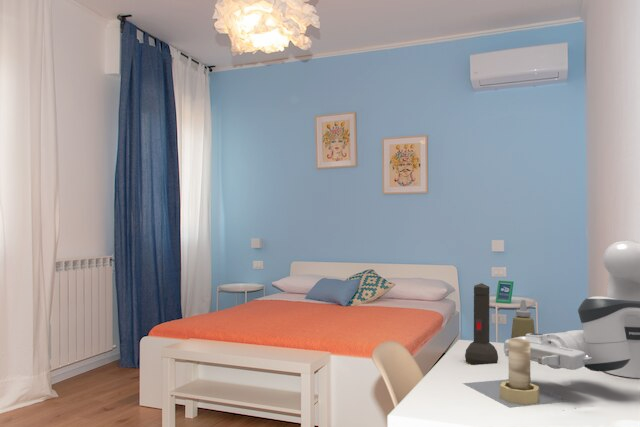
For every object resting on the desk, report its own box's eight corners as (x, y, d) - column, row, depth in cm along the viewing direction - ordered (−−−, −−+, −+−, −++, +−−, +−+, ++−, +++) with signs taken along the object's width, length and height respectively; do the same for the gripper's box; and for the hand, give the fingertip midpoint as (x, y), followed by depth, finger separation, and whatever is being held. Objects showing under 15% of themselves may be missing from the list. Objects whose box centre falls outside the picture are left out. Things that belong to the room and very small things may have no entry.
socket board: (516, 382, 150) (516, 367, 151) (569, 405, 131) (569, 388, 131) (462, 387, 146) (462, 372, 146) (509, 411, 126) (509, 394, 126)
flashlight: (471, 357, 178) (460, 363, 170) (471, 280, 179) (460, 283, 171) (502, 362, 173) (492, 368, 165) (502, 282, 173) (492, 285, 165)
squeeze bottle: (538, 357, 179) (538, 302, 180) (512, 355, 181) (512, 301, 181) (533, 351, 187) (533, 299, 188) (509, 350, 189) (509, 298, 189)
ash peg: (518, 394, 137) (518, 337, 137) (534, 399, 132) (534, 341, 132) (504, 397, 134) (504, 339, 134) (520, 402, 130) (520, 343, 130)
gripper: (596, 371, 133) (562, 379, 126) (523, 355, 150) (490, 361, 143) (595, 345, 134) (562, 352, 126) (523, 332, 151) (490, 337, 143)
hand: (523, 357), depth 135 cm, fingers open, 8 cm apart
